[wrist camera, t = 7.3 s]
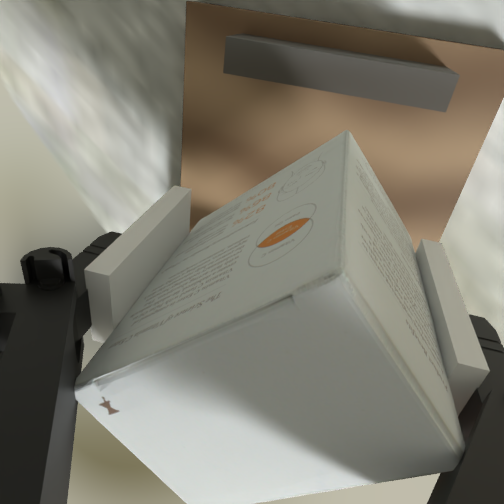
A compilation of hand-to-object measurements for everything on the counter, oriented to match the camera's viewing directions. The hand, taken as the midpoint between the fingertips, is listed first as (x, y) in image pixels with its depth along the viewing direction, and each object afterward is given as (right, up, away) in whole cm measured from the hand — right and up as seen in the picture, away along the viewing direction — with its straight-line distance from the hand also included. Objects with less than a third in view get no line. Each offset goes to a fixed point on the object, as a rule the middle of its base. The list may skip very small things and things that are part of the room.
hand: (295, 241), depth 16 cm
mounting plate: (+2, +5, +8) cm, 9 cm away
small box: (0, +1, +2) cm, 2 cm away
